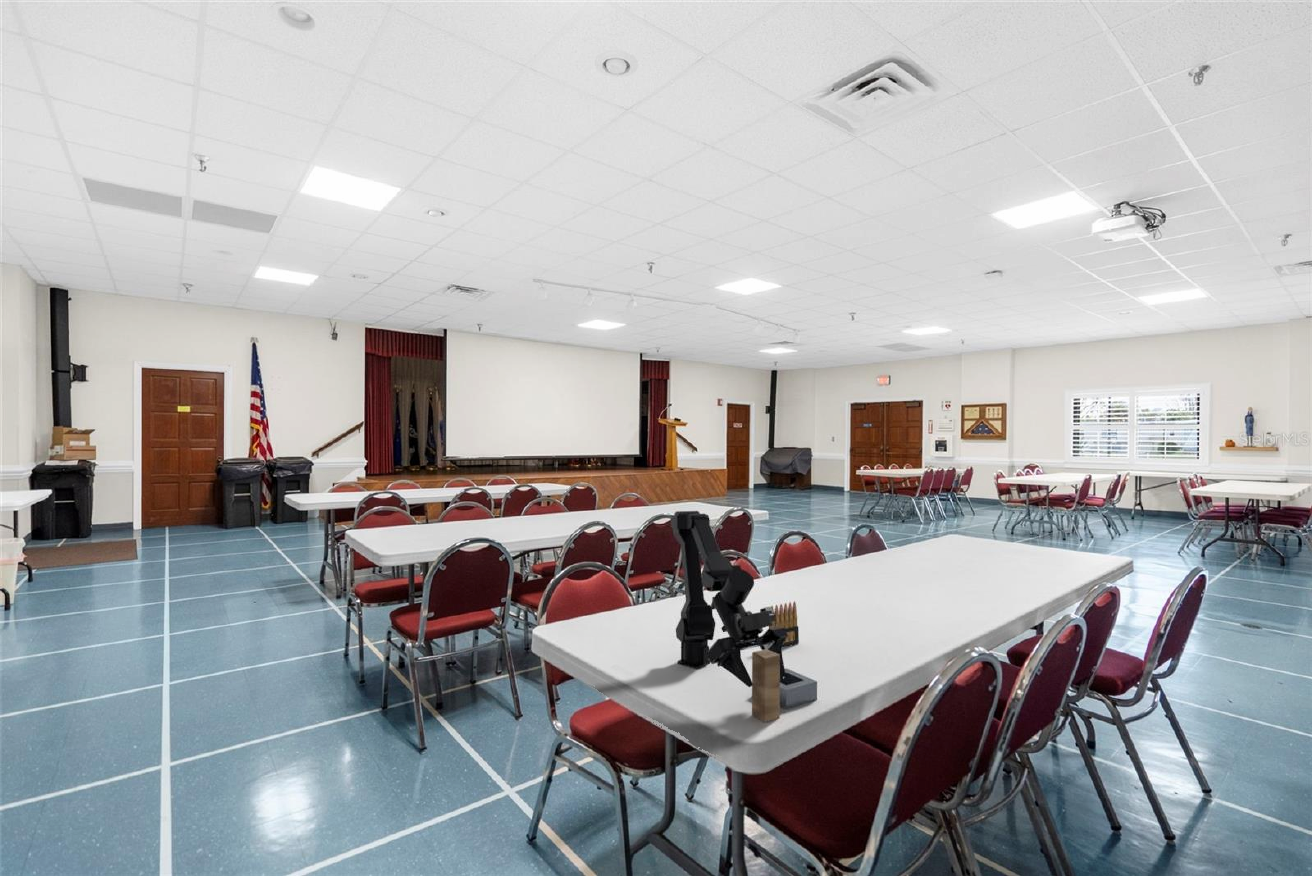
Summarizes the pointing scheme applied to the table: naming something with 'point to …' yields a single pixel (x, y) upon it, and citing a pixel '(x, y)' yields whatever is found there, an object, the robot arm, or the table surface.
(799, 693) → the square collar
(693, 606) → the robot arm
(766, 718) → the walnut peg
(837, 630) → the table surface
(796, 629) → the ammunition clip
